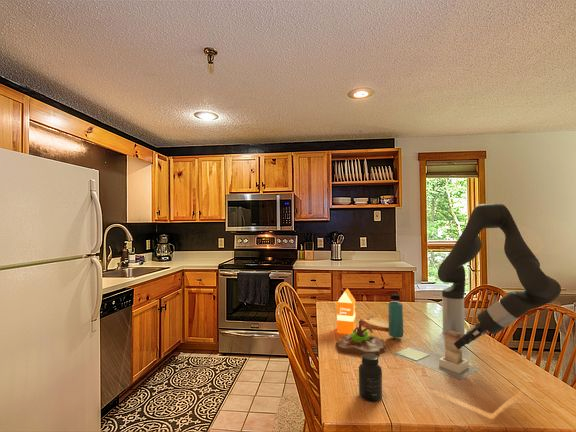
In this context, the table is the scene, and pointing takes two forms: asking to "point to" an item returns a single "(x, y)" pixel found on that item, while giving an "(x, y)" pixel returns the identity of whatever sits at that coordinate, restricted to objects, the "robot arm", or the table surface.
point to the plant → (360, 342)
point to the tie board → (437, 362)
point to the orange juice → (346, 313)
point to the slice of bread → (375, 323)
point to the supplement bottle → (370, 378)
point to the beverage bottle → (395, 317)
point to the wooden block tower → (452, 347)
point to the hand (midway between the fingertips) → (459, 343)
